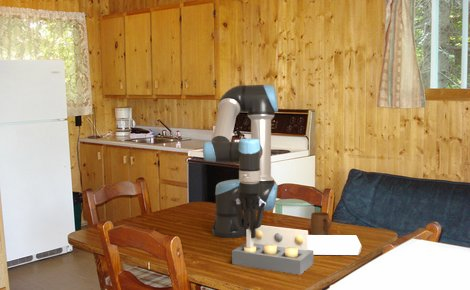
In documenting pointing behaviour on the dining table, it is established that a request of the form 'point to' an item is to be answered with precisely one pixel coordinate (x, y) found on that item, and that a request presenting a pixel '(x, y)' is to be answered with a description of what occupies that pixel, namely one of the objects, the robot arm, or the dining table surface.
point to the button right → (291, 252)
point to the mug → (320, 223)
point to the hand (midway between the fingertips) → (250, 246)
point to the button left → (250, 249)
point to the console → (278, 261)
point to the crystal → (334, 244)
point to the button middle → (270, 249)
